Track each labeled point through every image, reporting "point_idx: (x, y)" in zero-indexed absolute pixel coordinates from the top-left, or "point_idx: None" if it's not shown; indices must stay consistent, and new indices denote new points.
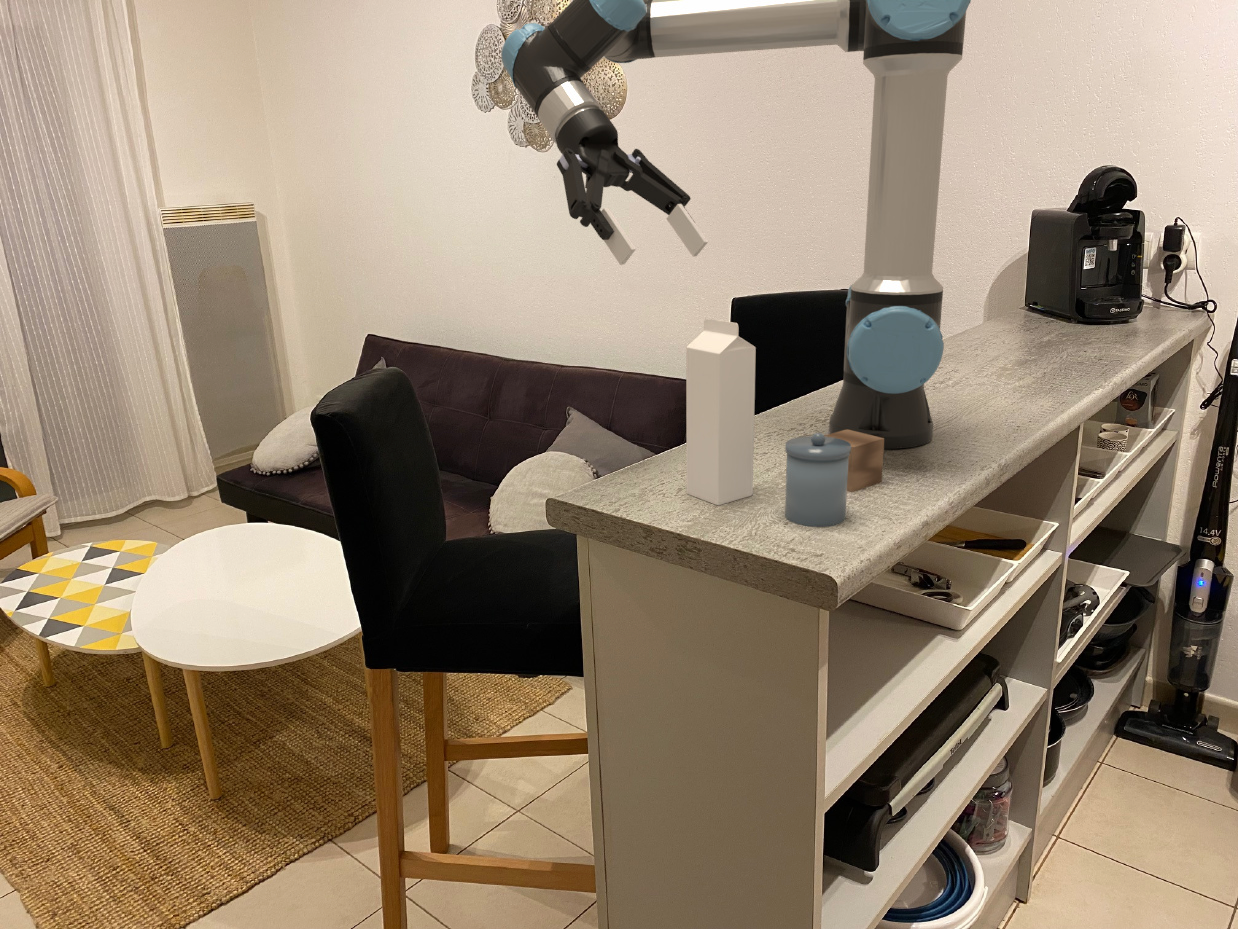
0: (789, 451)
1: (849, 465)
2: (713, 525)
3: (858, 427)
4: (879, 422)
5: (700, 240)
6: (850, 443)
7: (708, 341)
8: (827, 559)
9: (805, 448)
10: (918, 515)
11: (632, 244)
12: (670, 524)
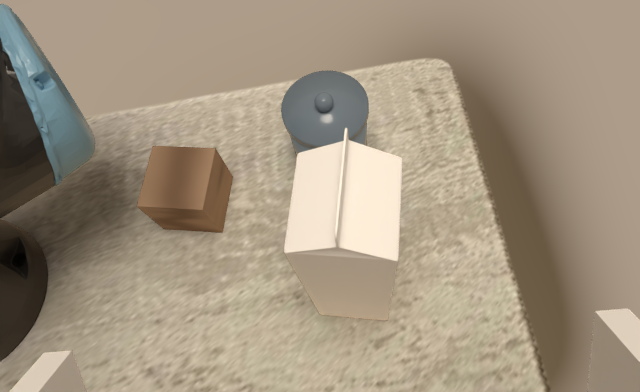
0: (365, 121)
1: (222, 166)
2: (444, 212)
3: (24, 279)
4: (6, 253)
5: (61, 380)
6: (201, 161)
7: (373, 208)
8: (421, 80)
9: (351, 105)
10: (254, 91)
11: (613, 331)
12: (485, 250)
